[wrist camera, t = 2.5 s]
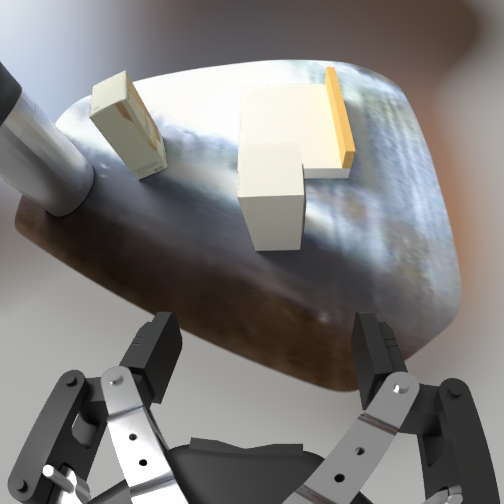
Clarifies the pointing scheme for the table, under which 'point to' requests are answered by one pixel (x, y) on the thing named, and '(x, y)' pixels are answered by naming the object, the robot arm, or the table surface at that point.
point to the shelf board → (301, 124)
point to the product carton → (272, 195)
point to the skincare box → (128, 125)
